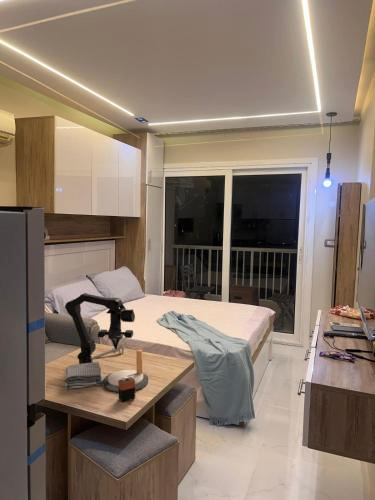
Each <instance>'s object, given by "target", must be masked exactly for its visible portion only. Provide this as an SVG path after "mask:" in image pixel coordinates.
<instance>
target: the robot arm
mask: <svg viewBox="0 0 375 500" xmlns="http://www.w3.org/2000/svg"><path fill="white" fill-rule="evenodd" d="M84 302H86V303H90V304H95V305H100V306H103V307H105V308H107V309H108V310H107V311H106V312H105V313H106V314H109V317H110V319H109V322H110V324H109V328H108V329H100V330H99V331H98V332H97V337H98V338H104V337H105V336H107V337H108V339H109V340H110V341H111V342H112V345H113V348H115V349H117V347H118V346H119V345H120V344H119V343H120V340H121V339H123V337H124V338H125V339H131V338H133V337H134V331H133V330H132V329H126V330H125V331H122V322H123V323H134V322H135V319H136V314H135V311H134V309H126V307H125V305H124V304H123V301H122V299H121V298H120V297H105V296H104V297H103V296H99V295H95V294H94V295H93V294H91V293H86V292H84V293H82V294H80V295H79V296H77V297H76V298H73V299H72V300H69V301H67V302H66V303H65V306H64V308H65V311H66V313H67V314H68V315H69V316H70V317H71V318H72V321H73V324H74V327H75V329H76V332H77V335H78V337H79V340H80V352H79V353H78V354H77V355H76V356H77V359H78V364H84V363H92V362H94V361H93V360H94V359H92V357H93V353H94V352H95V351H96V346H97V344H96V342H95V339H93V338H92V339H91V338H90V337H89V334H88V331H87V329H86V325H85V322H84V320H83V317H82V314H81V311H82V308H81V304H83V303H84Z"/></svg>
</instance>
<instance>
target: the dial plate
mask: <svg viewBox="0 0 375 500" xmlns="http://www.w3.org/2000/svg"><path fill="white" fill-rule="evenodd" d="M112 373H113V372H112ZM112 373H110V374H112ZM110 374H109V373H108V374H107V375H105V377H104V378H102V379H103V383H102V386H103V388H104V390H107V391H108V392H111V393H114V394H115V393H117V394H119V387H117V386H113V385H111V384H109V382H108V377H109V375H110ZM142 374H143V380H142V382H140V383H139V384H137V385H135V392H137V391H140V390H142V389H144V388H145V387H147V385H148V384H149V377H148V375H147V374H146V373H145V372H143V371H142Z"/></svg>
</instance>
